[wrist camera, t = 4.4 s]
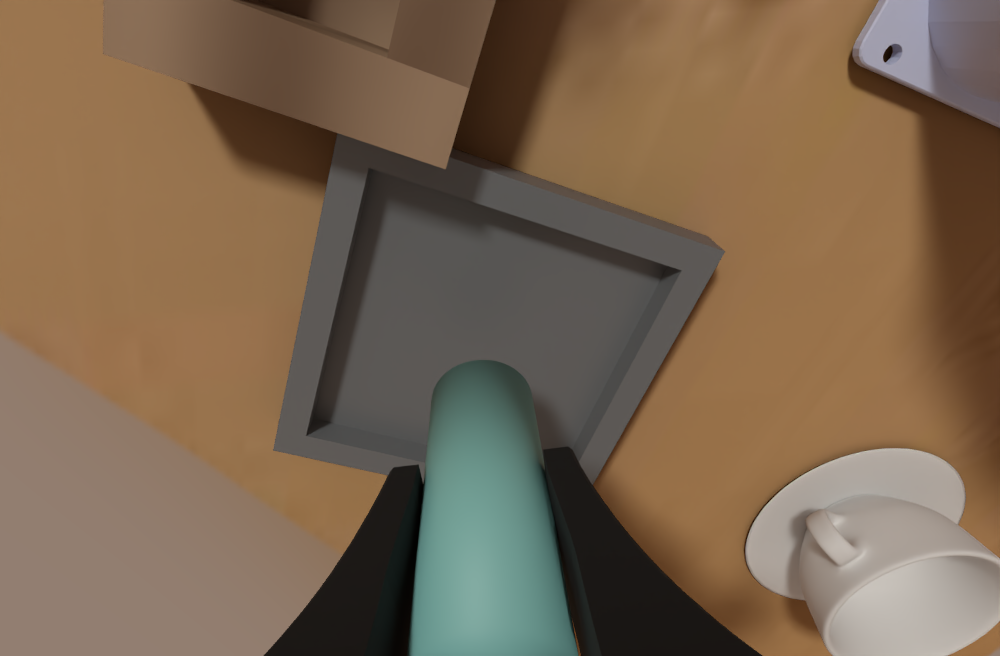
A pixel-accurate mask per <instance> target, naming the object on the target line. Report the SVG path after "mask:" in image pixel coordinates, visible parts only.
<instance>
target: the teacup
mask: <svg viewBox="0 0 1000 656" xmlns="http://www.w3.org/2000/svg"><path fill="white" fill-rule="evenodd" d="M965 501H966V493H965V487H964V483H963V481H962V479H961V477H960V475H959V474H958V472H957V471H956V470H955V469H954V468H953V467H952V466H951V465H950V464H949V463H947V462H946V461H945V460H943V459H941V458H939V457H937V456H935V455H933V454H930V453H927V452H923V451H918V450H913V449H903V448H886V449H876V450H869V451H863V452H859V453H855V454H851V455H847V456H844V457H841V458H838V459H835V460H833V461H830V462H828V463H825V464H823V465H821V466H819V467H817V468H815V469H813V470H811V471H809V472H807V473H805V474H804V475H802V476H800V477H799V478H797V479H796V480H794V481H793V482H791V483H790V484H789V485H787V486H786V487H785V488H783V489H782V490H781V491H780V492H779V493H778V494H776V495H775V496H774V497H773V498H772V499H771V500H770V501H769V502H768V503H767V505H766V506H765V507H764V508H763V509H762V511H761V512H760V513H759V515H758V516H757V518H756V519H755V521H754V523H753V525H752V527H751V529H750V532H749V534H748V537H747V542H746V548H745V555H746V562H747V565H748V568H749V570H750V572H751V574H752V575H753V577H754V578H755V579H756V580H757V581H758V582H759V583H760V584H761V585H762V586H764V587H765V588H767V589H768V590H770V591H772V592H774V593H776V594H779V595H781V596H784V597H788V598H792V599H798V600H805V601H806V603H807V606H808V608H809V610H810V613H811V615H812V617H813V619H814V622H815V624H816V626H817V628H818V631H819V633H820V635H821V638H822V640H823V642H824V644H825V646H826V648H827V650H828V651H829V652H830V653H831V654H832V655H833V656H947V655H950V654H952V653H954V652H956V651H958V650H960V649H962V648H964V647H966V646H968V645H969V644H971V643H973V642H974V641H976V640H977V639H979V638H980V637H982V636H983V635H984V634H986V633H987V632H988V631H989V630H991V629H992V628H993V627H994V626H995V625H996V624H997V623H998V622H999V621H1000V558H999V557H997V556H996V555H995V554H994V553H992V552H991V551H990V550H989V549H987V548H986V547H985V546H984V545H983V544H981V543H980V542H979V541H978V540H976V539H975V538H974V537H973V536H972V535H970V534H969V533H968V532H967V531H965V530H964V529H963V528H961V527H960V526H959V525H958V524H959V522H960V520H961V517H962V515H963V512H964V508H965Z"/></svg>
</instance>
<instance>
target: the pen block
mask: <svg viewBox="0 0 1000 656" xmlns="http://www.w3.org/2000/svg"><path fill="white" fill-rule="evenodd" d="M495 2H496V0H104V15H103V54H105V55H108V56H111V57H114V58H117V59H120V60H122V61H125V62H128V63H131V64H134V65H137V66H140V67H143V68H146V69H149V70H152V71H155V72H158V73H161V74H164V75H167V76H170V77H173V78H176V79H179V80H182V81H185V82H188V83H191V84H194V85H197V86H200V87H203V88H206V89H208V90H211V91H214V92H217V93H220V94H223V95H226V96H229V97H232V98H235V99H238V100H241V101H244V102H247V103H250V104H253V105H256V106H259V107H262V108H265V109H268V110H271V111H274V112H277V113H280V114H283V115H286V116H289V117H292V118H294V119H297V120H300V121H303V122H306V123H309V124H312V125H315V126H318V127H321V128H324V129H327V130H330V131H333V132H336V133H339V134H342V135H345V136H348V137H351V138H354V139H357V140H360V141H363V142H366V143H369V144H372V145H375V146H378V147H380V148H383V149H386V150H389V151H392V152H395V153H398V154H401V155H404V156H407V157H410V158H413V159H416V160H419V161H422V162H425V163H428V164H431V165H434V166H437V167H440V168H443V169H446V166H447V163H448V160H449V156H450V153H451V150H452V146H453V143H454V139H455V136H456V133H457V129H458V126H459V123H460V119H461V116H462V113H463V109H464V106H465V102H466V99H467V96H468V92H469V89H470V86H471V82H472V79H473V76H474V72H475V69H476V66H477V62H478V59H479V55H480V52H481V49H482V45H483V42H484V39H485V35H486V32H487V29H488V25H489V22H490V18H491V15H492V12H493V8H494V5H495Z"/></svg>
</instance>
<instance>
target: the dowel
mask: <svg viewBox="0 0 1000 656" xmlns="http://www.w3.org/2000/svg"><path fill="white" fill-rule="evenodd" d="M407 656H578V651H577V645H576V639H575V634H574V628H573V623H572V617H571V611H570V606H569V600H568V594H567V589H566V583H565V578H564V572H563V566H562V561H561V555H560V549H559V544H558V538H557V532H556V527H555V521H554V516H553V511H552V507H551V502H550V496H549V491H548V485H547V479H546V474H545V466H544V459H543V454H542V448H541V442H540V437H539V431H538V425H537V420H536V414H535V409H534V403H533V397H532V392H531V389H530V386H529V384H528V382H527V381H526V379H525V378H524V377H523V376H522V375H521V374H520V373H519V372H518V371H517V370H515V369H514V368H512V367H511V366H509V365H507V364H504V363H501V362H497V361H493V360H473V361H469V362H465V363H462V364H459V365H457V366H455V367H453V368H452V369H450V370H449V371H447V372H446V373H445V374H444V375H443V376H442V377H441V378H440V379H439V381H438V382H437V384H436V386H435V388H434V390H433V394H432V400H431V410H430V420H429V431H428V441H427V452H426V462H425V473H424V483H423V493H422V504H421V514H420V525H419V535H418V546H417V556H416V566H415V577H414V587H413V598H412V608H411V619H410V629H409V639H408V650H407Z"/></svg>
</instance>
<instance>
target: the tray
mask: <svg viewBox="0 0 1000 656" xmlns="http://www.w3.org/2000/svg"><path fill="white" fill-rule="evenodd" d="M724 252H725V251H724V250H723V249H722V248H720V247H719V246H718V245H717V244H716V243H715V242H714V241H712V240H711V239H710V238H709V237H708V236H705V235H702V234H699V233H696V232H693V231H690V230H688V229H685V228H682V227H679V226H676V225H673V224H670V223H667V222H664V221H662V220H659V219H656V218H653V217H650V216H647V215H644V214H641V213H638V212H636V211H633V210H630V209H627V208H624V207H621V206H618V205H615V204H612V203H610V202H607V201H604V200H601V199H598V198H595V197H592V196H589V195H586V194H584V193H581V192H578V191H575V190H572V189H569V188H566V187H563V186H560V185H558V184H555V183H552V182H549V181H546V180H543V179H540V178H537V177H534V176H532V175H529V174H526V173H523V172H520V171H517V170H514V169H511V168H508V167H506V166H503V165H500V164H497V163H494V162H491V161H488V160H485V159H482V158H480V157H477V156H474V155H471V154H468V153H465V152H462V151H459V150H456V149H454V148H452V150H451V153H450V156H449V160H448V163H447V166H446V169H443V168H440V167H437V166H434V165H431V164H428V163H425V162H422V161H419V160H416V159H413V158H410V157H407V156H404V155H401V154H398V153H395V152H392V151H389V150H386V149H383V148H380V147H378V146H375V145H372V144H369V143H366V142H363V141H360V140H357V139H354V138H351V137H348V136H345V135H342V134H339V133H337V138H336V143H335V148H334V153H333V157H332V162H331V167H330V172H329V177H328V182H327V187H326V192H325V197H324V202H323V207H322V212H321V217H320V222H319V227H318V232H317V237H316V241H315V246H314V251H313V256H312V261H311V266H310V271H309V276H308V281H307V286H306V291H305V296H304V301H303V306H302V311H301V316H300V321H299V326H298V330H297V335H296V340H295V345H294V350H293V355H292V360H291V365H290V370H289V375H288V380H287V385H286V390H285V395H284V400H283V405H282V410H281V414H280V419H279V424H278V429H277V434H276V439H275V444H274V449H273V450H274V451H279V452H283V453H288V454H292V455H297V456H302V457H306V458H311V459H315V460H320V461H325V462H329V463H334V464H339V465H343V466H348V467H352V468H357V469H362V470H366V471H371V472H375V473H380V474H385V475H389V472H390V471H391V470H392V469H393V468H394V467H401V466H409V465H417V464H419V468H420V472H421V477H422V481H423V483H424V473H425V462H426V452H427V441H428V431H429V420H430V410H431V400H432V394H433V390H434V388H435V386H436V384H437V382H438V381H439V379H440V378H441V377H442V376H443V375H444V374H445V373H446V372H447V371H449V370H450V369H452V368H453V367H455V366H457V365H459V364H462V363H465V362H469V361H473V360H493V361H497V362H501V363H504V364H507V365H509V366H511V367H512V368H514V369H515V370H517V371H518V372H519V373H520V374H521V375H522V376H523V377H524V378H525V379H526V381H527V382H528V384H529V386H530V389H531V392H532V397H533V403H534V409H535V414H536V420H537V425H538V431H539V437H540V442H541V448H542V454H543V449H551V448H559V447H570V448H571V449H572V450H573V451H574V454H575V456H576V458H577V460H578V462H579V463H580V465H581V467H582V469H583V471H584V472H585V474H586V476H587V477H588V479H589V480H590V482H591V483H592V485H593V484H594V482H595V480H596V478H597V477H598V475H599V473H600V471H601V470H602V468H603V466H604V464H605V462H606V461H607V459H608V457H609V455H610V454H611V452H612V450H613V448H614V447H615V445H616V443H617V441H618V440H619V438H620V436H621V434H622V432H623V431H624V429H625V427H626V425H627V424H628V422H629V420H630V418H631V417H632V415H633V413H634V411H635V410H636V408H637V406H638V404H639V402H640V401H641V399H642V397H643V395H644V394H645V392H646V390H647V388H648V387H649V385H650V383H651V381H652V380H653V378H654V376H655V374H656V372H657V371H658V369H659V367H660V365H661V364H662V362H663V360H664V358H665V357H666V355H667V353H668V351H669V350H670V348H671V346H672V344H673V342H674V341H675V339H676V337H677V335H678V334H679V332H680V330H681V328H682V327H683V325H684V323H685V321H686V320H687V318H688V316H689V314H690V312H691V311H692V309H693V307H694V305H695V304H696V302H697V300H698V298H699V297H700V295H701V293H702V291H703V290H704V288H705V286H706V284H707V282H708V281H709V279H710V277H711V275H712V274H713V272H714V270H715V268H716V267H717V265H718V263H719V261H720V260H721V258H722V256H723V254H724ZM543 459H544V455H543Z"/></svg>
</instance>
